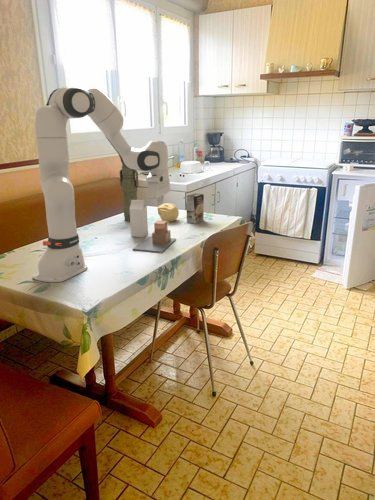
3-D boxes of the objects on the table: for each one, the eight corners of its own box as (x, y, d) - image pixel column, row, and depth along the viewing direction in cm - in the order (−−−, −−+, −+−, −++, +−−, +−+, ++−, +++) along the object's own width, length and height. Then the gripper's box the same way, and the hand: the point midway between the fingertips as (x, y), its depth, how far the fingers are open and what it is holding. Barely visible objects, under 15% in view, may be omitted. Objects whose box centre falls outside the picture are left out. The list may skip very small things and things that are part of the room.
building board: (162, 253, 175) (161, 241, 173) (132, 250, 179) (131, 238, 177) (176, 240, 193) (175, 229, 191) (148, 237, 197) (148, 227, 195)
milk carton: (144, 237, 197) (142, 201, 191) (131, 236, 199) (128, 201, 192) (148, 233, 204) (146, 198, 198) (135, 232, 205) (133, 198, 199)
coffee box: (195, 223, 221) (195, 196, 215) (186, 222, 224) (186, 195, 219) (203, 220, 228) (203, 194, 222) (195, 219, 231) (195, 193, 226)
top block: (164, 233, 184) (163, 223, 182) (154, 232, 185) (154, 222, 184) (167, 230, 188) (167, 221, 187) (158, 229, 190) (157, 220, 188)
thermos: (126, 217, 237) (122, 160, 226) (143, 218, 234) (140, 160, 222) (119, 220, 229) (115, 162, 218) (137, 222, 226) (133, 162, 214)
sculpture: (155, 221, 227) (154, 203, 223) (167, 217, 236) (167, 200, 233) (170, 224, 221) (170, 206, 217) (182, 219, 230) (182, 202, 227)
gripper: (160, 172, 188) (161, 199, 192) (144, 179, 169) (146, 209, 174) (172, 173, 186) (173, 200, 191) (157, 179, 168) (158, 210, 172)
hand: (160, 204), depth 182 cm, fingers closed
